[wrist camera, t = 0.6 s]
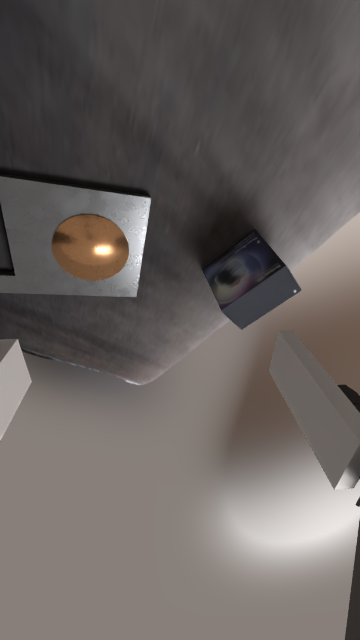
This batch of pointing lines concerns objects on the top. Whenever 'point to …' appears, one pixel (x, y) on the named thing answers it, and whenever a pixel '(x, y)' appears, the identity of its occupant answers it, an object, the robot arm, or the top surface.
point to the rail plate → (72, 238)
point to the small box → (250, 280)
